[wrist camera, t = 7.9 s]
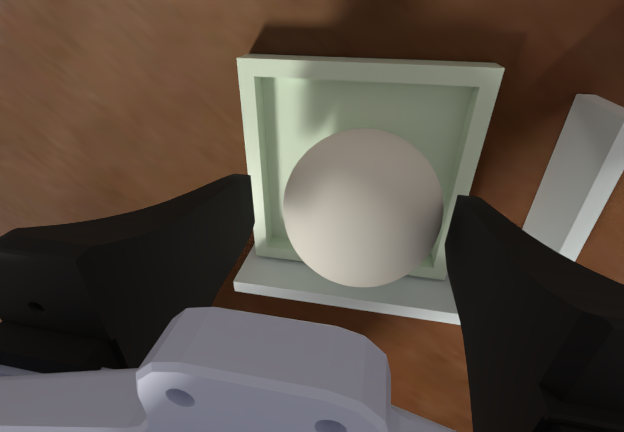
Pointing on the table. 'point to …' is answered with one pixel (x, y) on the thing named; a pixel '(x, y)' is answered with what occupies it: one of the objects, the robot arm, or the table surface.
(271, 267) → the acrylic walls
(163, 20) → the table surface
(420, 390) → the table surface
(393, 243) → the ball
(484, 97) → the resting spot
